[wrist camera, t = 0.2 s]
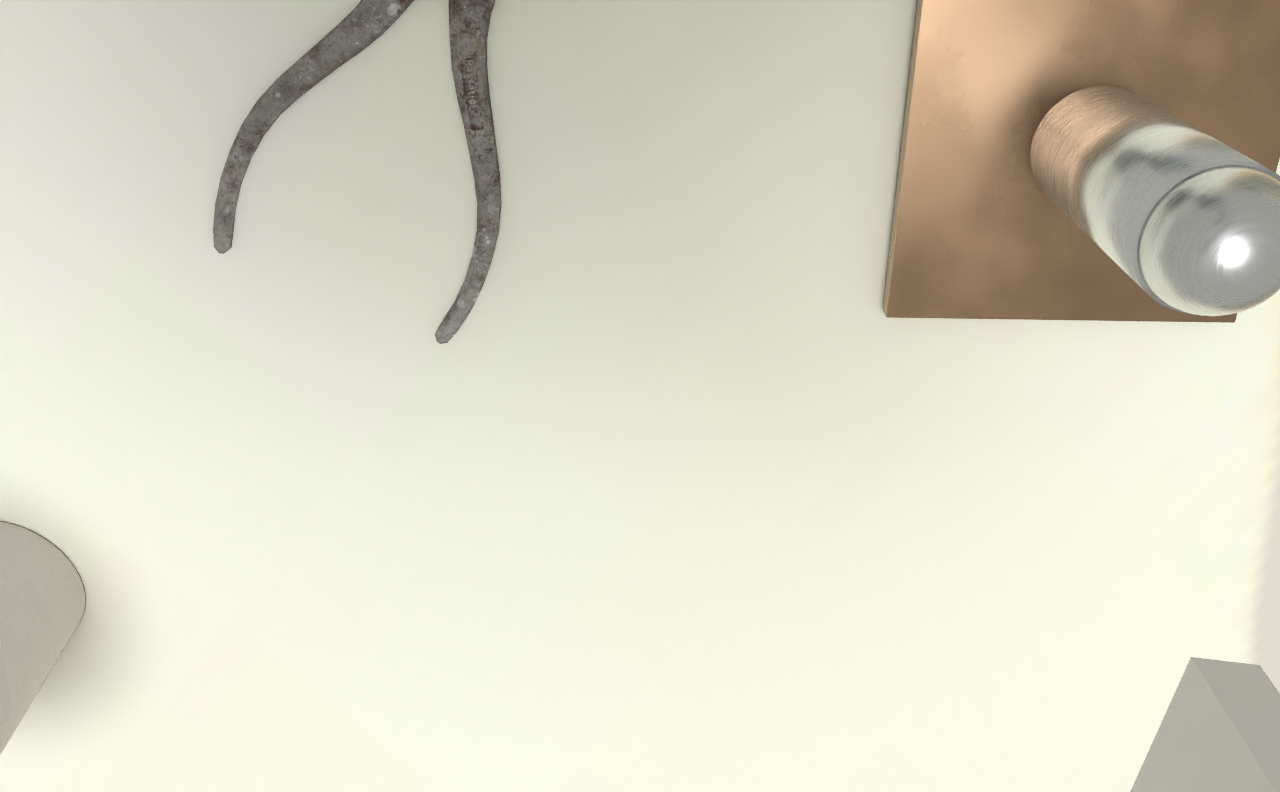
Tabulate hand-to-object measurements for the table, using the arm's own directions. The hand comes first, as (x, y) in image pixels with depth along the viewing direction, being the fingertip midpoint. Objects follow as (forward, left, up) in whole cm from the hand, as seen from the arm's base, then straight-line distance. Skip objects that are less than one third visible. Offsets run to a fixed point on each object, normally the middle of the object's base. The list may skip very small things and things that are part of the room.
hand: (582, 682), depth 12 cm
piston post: (0, +15, -27) cm, 31 cm away
